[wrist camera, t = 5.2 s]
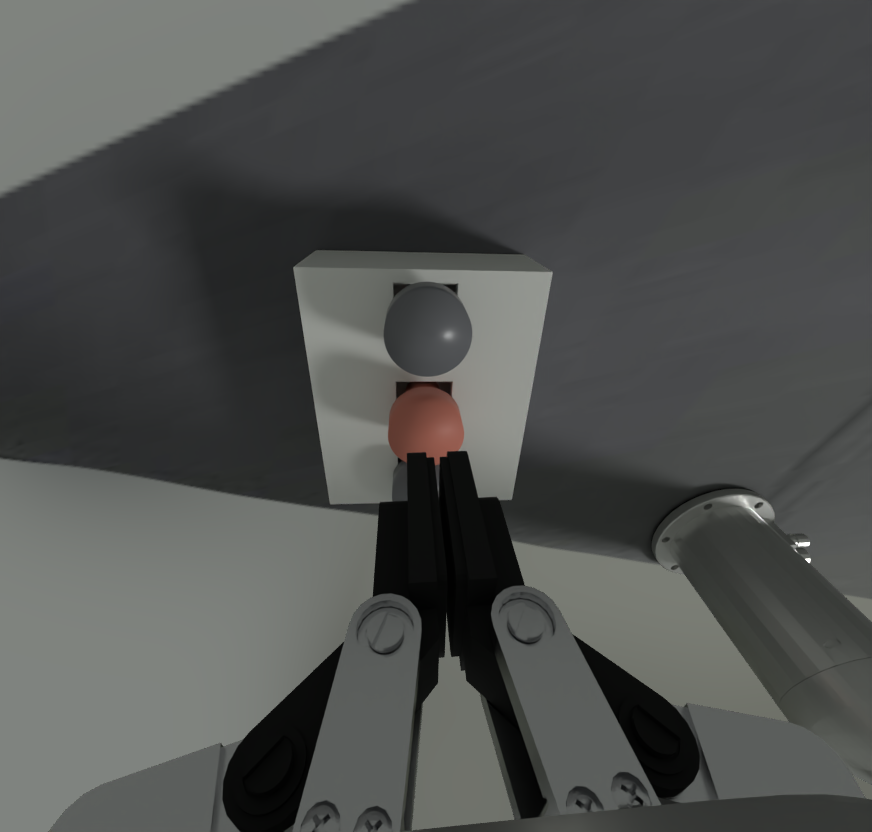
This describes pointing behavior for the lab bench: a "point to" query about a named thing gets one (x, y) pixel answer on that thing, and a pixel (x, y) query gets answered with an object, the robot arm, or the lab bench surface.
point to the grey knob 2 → (404, 481)
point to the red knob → (425, 422)
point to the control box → (385, 381)
